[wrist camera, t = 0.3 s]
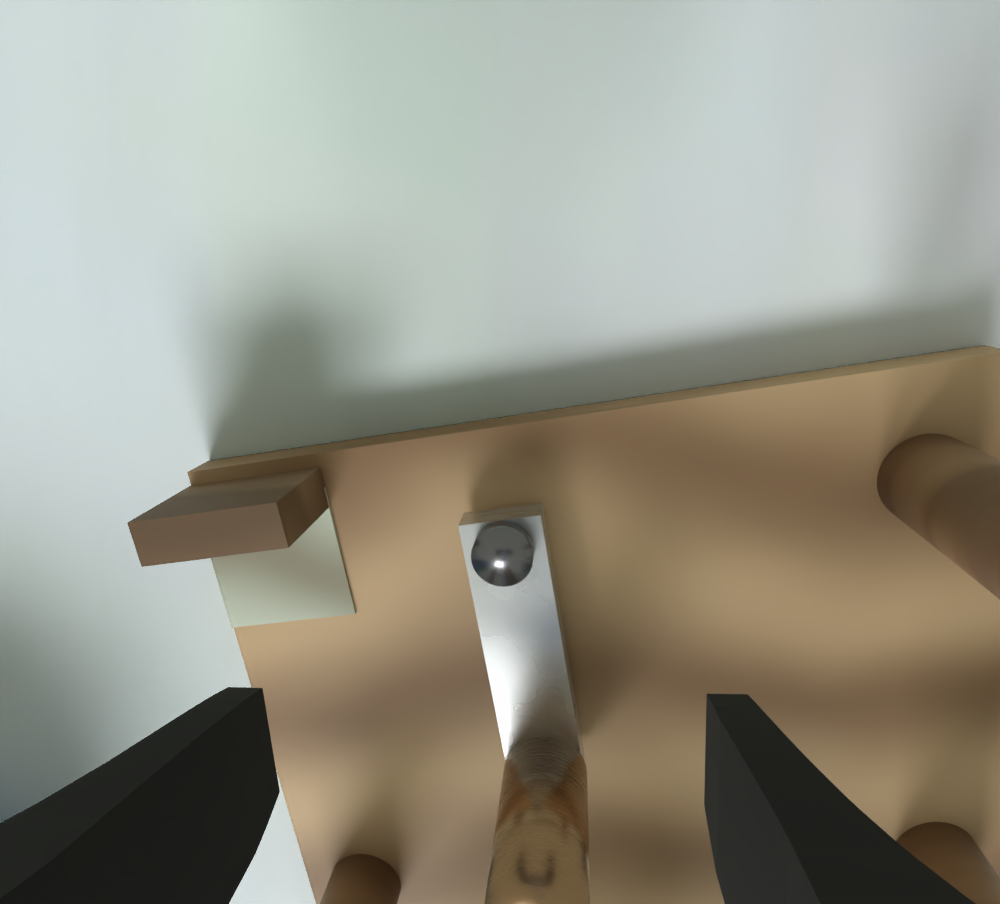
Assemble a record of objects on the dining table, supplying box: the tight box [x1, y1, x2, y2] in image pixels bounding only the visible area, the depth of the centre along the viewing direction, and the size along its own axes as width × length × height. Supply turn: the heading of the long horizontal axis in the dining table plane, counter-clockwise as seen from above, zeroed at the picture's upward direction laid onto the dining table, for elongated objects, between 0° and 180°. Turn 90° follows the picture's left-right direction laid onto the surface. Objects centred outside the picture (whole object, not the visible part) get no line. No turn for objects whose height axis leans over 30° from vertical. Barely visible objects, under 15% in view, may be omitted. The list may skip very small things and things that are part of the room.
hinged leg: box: [458, 502, 590, 904], centre depth 18 cm, size 9×2×6 cm, turn 10°
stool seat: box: [128, 346, 1000, 904], centre depth 18 cm, size 17×22×7 cm
